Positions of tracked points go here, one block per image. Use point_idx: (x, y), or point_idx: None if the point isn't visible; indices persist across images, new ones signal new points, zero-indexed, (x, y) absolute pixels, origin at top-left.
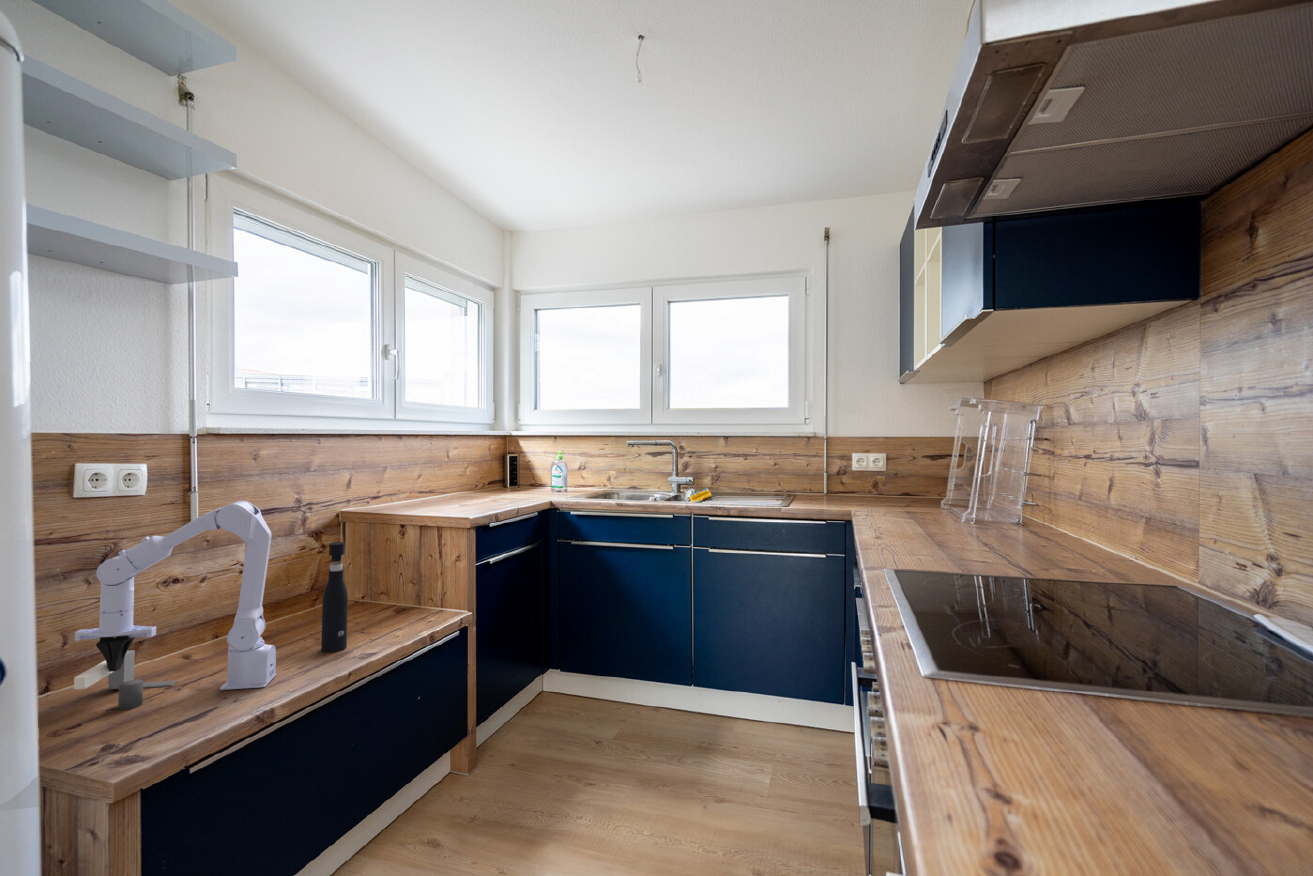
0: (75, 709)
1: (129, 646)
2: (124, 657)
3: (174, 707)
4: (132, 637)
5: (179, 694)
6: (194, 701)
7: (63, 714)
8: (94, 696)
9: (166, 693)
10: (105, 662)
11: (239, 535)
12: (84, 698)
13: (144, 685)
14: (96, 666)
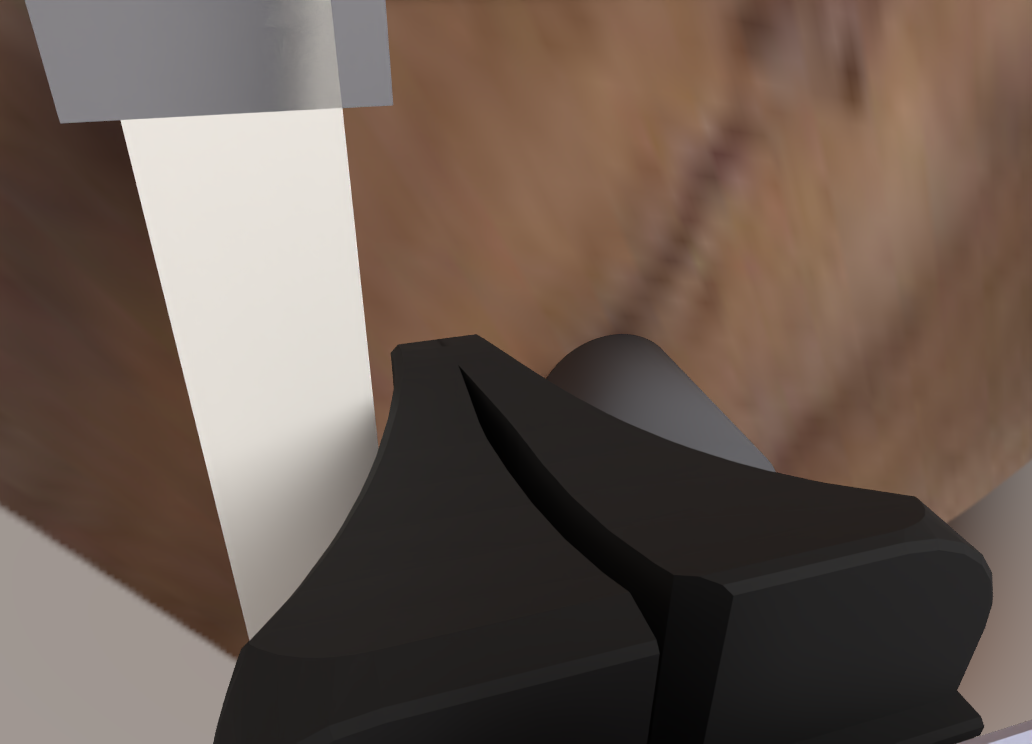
0: (200, 455)
1: (715, 463)
2: (385, 93)
3: (882, 424)
4: (958, 698)
5: (873, 204)
6: (976, 341)
7: (184, 535)
8: (109, 166)
9: (776, 169)
10: (275, 441)
11: None
12: (37, 214)
13: None
14: (272, 592)
